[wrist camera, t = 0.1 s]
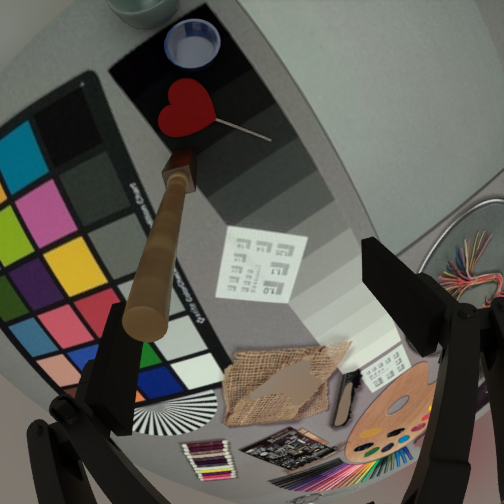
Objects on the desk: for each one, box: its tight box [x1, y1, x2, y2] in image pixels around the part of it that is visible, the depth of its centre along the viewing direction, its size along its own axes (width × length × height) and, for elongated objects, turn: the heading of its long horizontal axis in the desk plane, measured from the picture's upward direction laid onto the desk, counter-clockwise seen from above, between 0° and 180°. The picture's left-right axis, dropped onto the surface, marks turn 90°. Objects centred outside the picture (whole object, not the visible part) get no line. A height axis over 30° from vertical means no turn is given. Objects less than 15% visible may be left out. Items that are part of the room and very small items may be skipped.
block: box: [162, 146, 197, 194], centre depth 34 cm, size 3×3×14 cm
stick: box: [122, 171, 189, 342], centre depth 19 cm, size 2×2×20 cm
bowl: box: [164, 19, 220, 73], centre depth 31 cm, size 6×6×5 cm
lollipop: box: [158, 78, 272, 142], centre depth 38 cm, size 8×1×15 cm
